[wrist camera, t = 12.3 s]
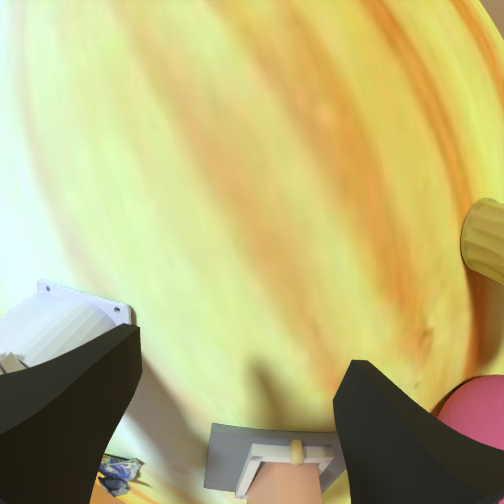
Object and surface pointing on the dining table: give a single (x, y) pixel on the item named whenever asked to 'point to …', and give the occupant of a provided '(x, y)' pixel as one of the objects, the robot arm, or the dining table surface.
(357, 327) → the dining table surface
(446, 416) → the pink dragon fruit
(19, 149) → the dining table surface
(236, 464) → the socket plate
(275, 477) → the block
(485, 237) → the vase
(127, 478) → the snack package
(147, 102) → the dining table surface
